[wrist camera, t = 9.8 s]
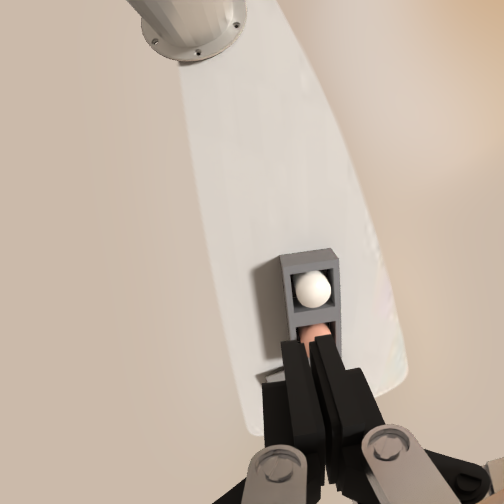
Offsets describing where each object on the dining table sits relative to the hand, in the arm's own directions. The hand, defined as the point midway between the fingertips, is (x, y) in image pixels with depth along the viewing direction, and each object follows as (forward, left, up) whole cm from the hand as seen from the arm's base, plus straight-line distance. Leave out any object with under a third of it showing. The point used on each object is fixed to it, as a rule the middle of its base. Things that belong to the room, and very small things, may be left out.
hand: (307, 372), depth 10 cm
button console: (+13, +4, -29) cm, 32 cm away
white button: (+9, +4, -29) cm, 31 cm away
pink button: (+16, +4, -28) cm, 33 cm away
